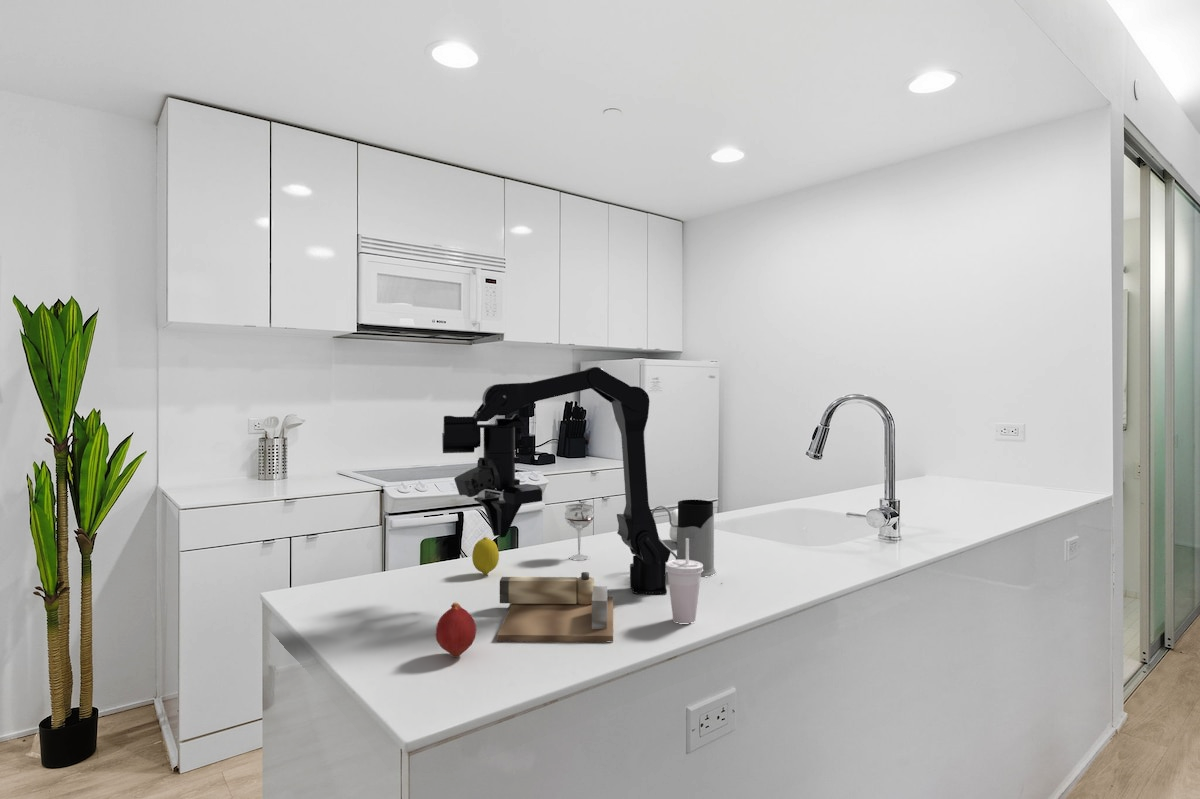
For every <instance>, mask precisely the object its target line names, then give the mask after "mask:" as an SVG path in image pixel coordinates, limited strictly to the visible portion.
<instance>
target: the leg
mask: <svg viewBox="0 0 1200 799" xmlns="http://www.w3.org/2000/svg"><path fill="white" fill-rule="evenodd" d="M593 586H595V578H594V577H592V576H589V579H588V580H583V579H581V577H577V576H567V577H566V576H502V577H501V578H500V580H499V604H512V603H523V604H576V603H578V604H592V594H593Z"/></svg>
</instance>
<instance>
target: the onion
mask: <svg viewBox="0 0 1200 799" xmlns="http://www.w3.org/2000/svg"><path fill="white" fill-rule="evenodd" d="M476 635H477V624H476V621H475V619H474V617H473V616H472V615H471V614H470V612H468V611H467V610H466V609H465V608H463V607H462V606H461V605H460V603H459V602H453V603H452V604H451V605H450V608H449V609H448V610H447V611H445V612H444V613H443V614H442V615H441V616H440V618H439V619H438V621H437V625H436V628H435V638H436V642H437V643H438V645H439V646H440V647H441V648H442V650H444V651H446V652H447V653H449V655H451V656H452V657H453V658H457V657H460V656H461V655H462V654H463V653H464V652H466V651H467V650H468V649H469V648H470V647H471V646H472V645H473V642H474V641H475V638H476Z"/></svg>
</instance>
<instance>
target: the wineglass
mask: <svg viewBox="0 0 1200 799" xmlns="http://www.w3.org/2000/svg"><path fill="white" fill-rule="evenodd" d="M564 508H565V509H566V510H565V512H564V520H565V522H566V523H567V524H568V525H569V527H571V528H573V529H575V531H577V532H576V533H577V548H578V549H577V550H578V551H577V553H578V554H575V555H571V557H570V556H569V557H570V558H571V559H576V560H575V561H578V560H579V561H584V560H583V559H587V558H588V557H589V556H588V555H584V554H581V540H582V539H581V536H582V531H583V530H584V529H585V528H587V527H589V525H591V523H592V522H593V520H594V518H595V517H594V516H595V515H594V511H593V508H594V505H592V504H586V503H575V504H574V503H573V504H567V505H565V506H564ZM571 559H570V560H571ZM587 560H588V559H587Z"/></svg>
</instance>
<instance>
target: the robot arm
mask: <svg viewBox="0 0 1200 799" xmlns="http://www.w3.org/2000/svg"><path fill="white" fill-rule="evenodd" d="M589 389H591V390H592V391H594V392H596V394H598V395H599V396H600V397H601V398H603V399H604V400H606V401H607V402H609V403H610V404H611V406H612V410H613V415H614V419H615V422H616V423H617V426H618V429H619V432H620V436H621V437H620V438H621V451H622V465H623V479H624V480H623V481H624V492H625V493H624V494H625V506H624V510H623V513H616V518H617V520H616V521H617V523H618V529H617V535H619V536H620V539H621V540H622V542H623V544H625V545H626V546H627V547H629V550H630V553H631V554H632V555H633V556H632V563H630V564H629V587H630V588H631V589H632V594H655V595H656V594H661V595H662V594H664V595H666V594H667V593H668V589H667V586H666V585H667V584H666V582H667V578H666V577H667V571H666V570H665V568H666V563H667V562H668V561H669V559H670V556H671V554H672V553H671V552H670V551H669V550H668V549H667V548H666V547H665V546H664V545H663V544H662V543H661V542H660V541H659V538H660V536H659V533H658V528H657V525H656V524H657V523H656V520H655V517H654V515H652V510H651V508H650V504H649V503H650V502H649V491H648V489H649V488H648V478H647V477H648V476H647V474H648V473H647V464H646V463H647V462H646V449H645V448H646V447H645V446H646V445H645V429H646V426H647V422H648V419H649V412H650V397H649V394H648V392H646V391H645V390H644V388H642V387H640V386H633V385H632V386H631V385H629V384H627V383H626V382H624V381H622V380H621V379H618V378H616V377H615V376H613V375H611V374H609V373H608V372H607V371H605V369H603V368H602V367H600V366H594V367H587V368H585V369H584V370H580V371H575V372H571V373H567V374H562V375H557V376H554V377H553V376H552V377H549V378H545V379H539V380H535V381H531V382H517V383H499V384H498V383H497V384H493V385H490V386H488V387H487V388H486V389H485V390H484V392H483V394H482V403H481V404H480V405H479V407H478V409H477V410H476V411H475V410H474V413H473V415H472V416H454V415H444V416H443V427H442V428H443V431H442V433H441V434H442V436H441V437H442V440H441V442H442V443H441V444H442V445H441V446H442V454H465V453H466V454H468V453H471V454H472V453H475V450H476V449H478V448H479V447H481V439H482V437H481V435H482V434H481V429H483V457H478V459H477V465H476V467H473V468H471V469H469V470H467V471H465V472H463V473H461V474H459V475H457V476H455V477H454V479H453V480H454V482H455V485H456V489H457V492H458V495H460V496H467V497H468V498H472V497H473V500H474V501H475V502H477V503H478V504H480V505H481V506H482V507H483V508H484V511H485V513H486V516H487V519H488V522H489V526H490V528H491V532H492V535H493V536H494V537H497V536H498V537H499V538H502V539H503V538H506V536H507V535H508V532H509V531H510V528H511V527H512V524H513V522H514V519H515V518H516V515H517V513H518V512H519V510H520V508H521V506H522V505H525V504H531V503H538V502H543V489H542V488H541V487H540V486H539V485H535V484H530V483H523V484H521V482H520V481H521V480H520V479H519V478H516V464H519V463H520V461H521V459H520V458H521V457H519V456H516V428H525V427H526V423H525V422H524V421H522V419H520V417H519V415H518V414H515V413H514V412H516V411H518V410H520V409H523V408H524V407H528V406H529V405H531V404H533V403H535V402H538V401H543V400H547V399H551V398H555V397H559V396H564V395H567V394H572V393H576V392H581V391H585V390H586V391H587V390H589ZM511 413H514V414H513V415H512V417H510V418H506V417H505V418H495V417H496V416H499V417H500V416H506V415H508V414H509V415H510V414H511ZM493 418H495V420H494V423H482V424H481V423H479V424H478V422H488V421H490V420H491V419H493Z"/></svg>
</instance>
